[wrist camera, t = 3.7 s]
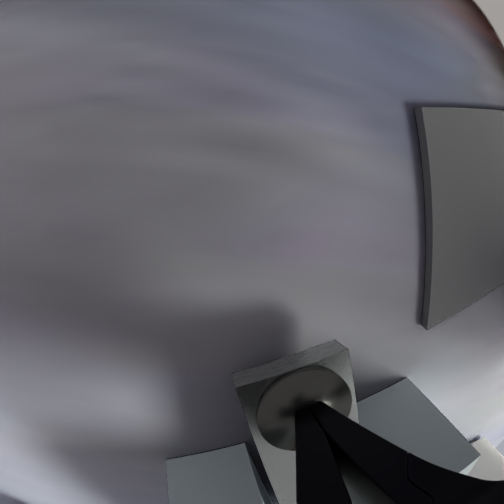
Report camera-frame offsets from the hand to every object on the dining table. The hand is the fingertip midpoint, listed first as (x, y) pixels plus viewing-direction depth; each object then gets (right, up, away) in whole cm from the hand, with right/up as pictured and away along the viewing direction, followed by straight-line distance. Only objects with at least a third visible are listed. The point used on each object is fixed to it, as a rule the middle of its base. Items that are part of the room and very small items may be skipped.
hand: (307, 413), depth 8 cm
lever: (+2, -9, +2) cm, 9 cm away
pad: (+9, +7, +3) cm, 12 cm away
